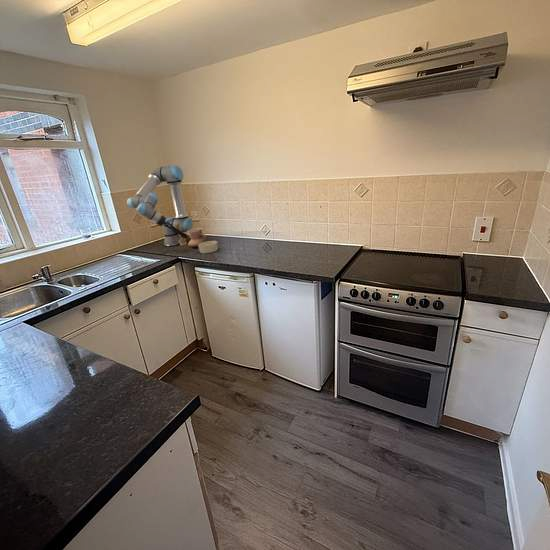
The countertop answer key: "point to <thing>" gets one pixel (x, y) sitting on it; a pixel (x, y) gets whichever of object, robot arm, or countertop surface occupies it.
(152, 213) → the robot arm
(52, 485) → the countertop surface
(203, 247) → the bowl
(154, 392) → the countertop surface
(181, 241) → the brush
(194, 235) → the ceramic jug
